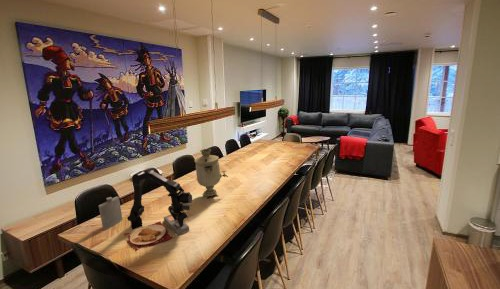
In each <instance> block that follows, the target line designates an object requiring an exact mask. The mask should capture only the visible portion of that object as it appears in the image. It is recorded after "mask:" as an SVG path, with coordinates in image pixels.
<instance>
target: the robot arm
mask: <svg viewBox="0 0 500 289" xmlns="http://www.w3.org/2000/svg"><path fill="white" fill-rule="evenodd" d="M146 179H150V180H152V181H154V182H155V183H157V184H159V185H161V186H162V187H164V188H165V190H166V191H167V192H168V195H167V197H170V201H171V203H170V205H169V206H168V208H167V210H168V212H169V213H170V215H172V217H173V218H174V220H175V221H176V220H177V221H178V223H179V225H180V226H181V227H182V226H183V222H185V220H186V219H187V218H188V214H187V212H184V211H190V208H191V203H192V201H193V195H192V194H191V192H186V191H185V189H184V188H183V187H182V186H181V184H180V183H179V182H177V181H174V180H169V179H167V178H165V176H162V175H161V174H159V173H157V172H155V171H154V170H153V169H150V170H140V171H137V172H136V173H133V175H132V176H131V180H132V183H133V185H134V191H133V205H132V207H131V209H130V212H129V215H128V216H127V218H126V219H127V221H129V222H130V227H131V229H132V230H136V229H139V228H141V227H143V219H142V217H141V216H143V214H144V212H145V205H142V199H143V185H144V183H145V181H146Z"/></svg>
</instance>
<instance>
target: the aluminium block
mask: <svg viewBox="0 0 500 289" xmlns="http://www.w3.org/2000/svg"><path fill="white" fill-rule="evenodd" d="M174 223H175V227H176V228H179V227H181V226H180V225H179V223H178V221H177V220H176V221H174ZM183 226H184V224H183Z"/></svg>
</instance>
